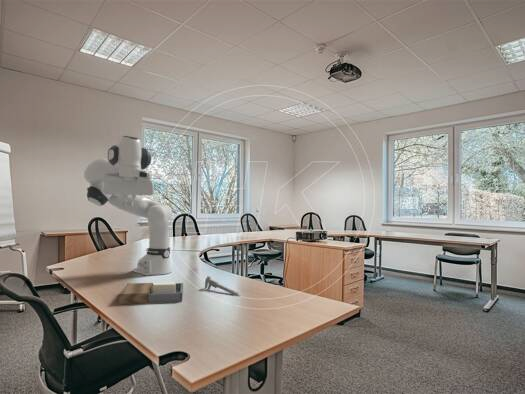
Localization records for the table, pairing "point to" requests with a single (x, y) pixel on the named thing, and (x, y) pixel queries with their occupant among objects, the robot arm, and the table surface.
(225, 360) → the table surface
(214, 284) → the caliper
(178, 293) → the bin
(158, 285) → the block
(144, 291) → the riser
